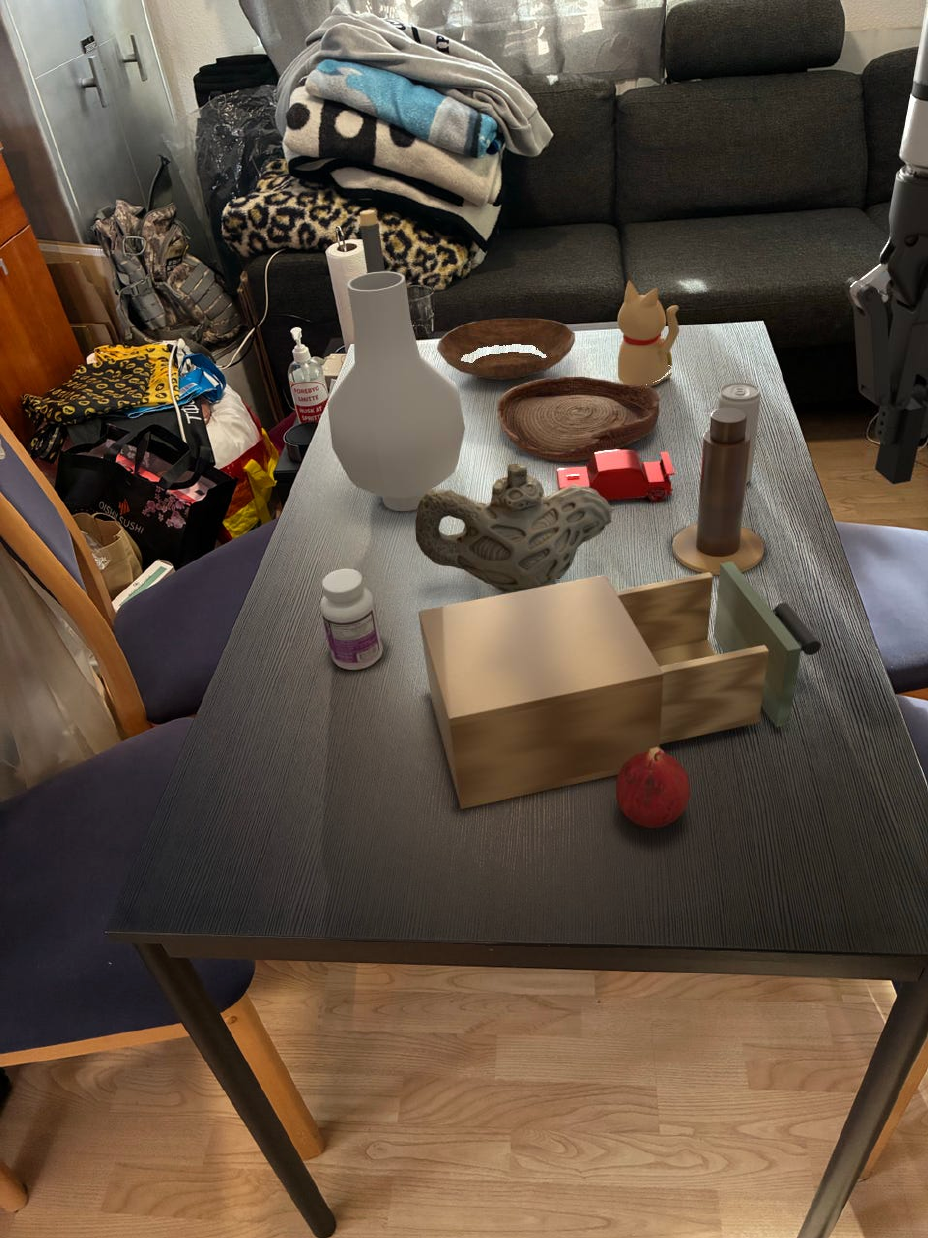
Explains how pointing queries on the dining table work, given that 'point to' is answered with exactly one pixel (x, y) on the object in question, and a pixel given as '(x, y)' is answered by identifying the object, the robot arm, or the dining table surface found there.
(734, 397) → the beverage can
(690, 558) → the coaster
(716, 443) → the pepper mill
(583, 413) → the basket
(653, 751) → the red pomegranate
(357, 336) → the vase
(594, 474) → the toy car
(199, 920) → the dining table surface
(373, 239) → the wine bottle
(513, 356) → the bowl
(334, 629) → the pill bottle
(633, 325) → the figurine
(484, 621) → the cabinet
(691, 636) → the drawer
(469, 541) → the teapot
